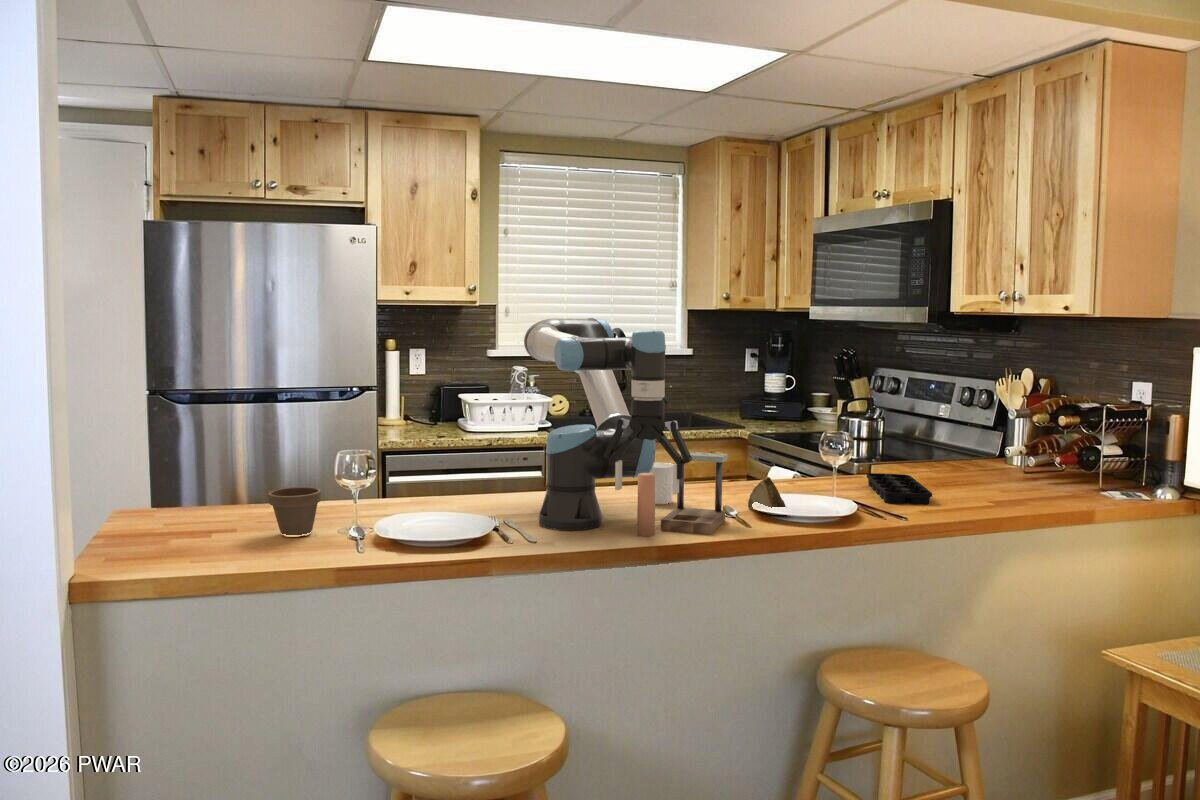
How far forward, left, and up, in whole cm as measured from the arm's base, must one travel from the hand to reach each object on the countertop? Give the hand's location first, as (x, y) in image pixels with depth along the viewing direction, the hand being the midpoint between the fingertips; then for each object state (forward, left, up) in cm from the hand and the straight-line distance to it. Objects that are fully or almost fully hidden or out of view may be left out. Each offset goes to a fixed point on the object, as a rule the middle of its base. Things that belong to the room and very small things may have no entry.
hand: (646, 491), depth 227 cm
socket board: (+8, +13, -10) cm, 18 cm away
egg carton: (+52, +71, -11) cm, 89 cm away
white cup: (-7, +36, -10) cm, 38 cm away
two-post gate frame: (+8, +19, -8) cm, 22 cm away
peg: (0, 0, -10) cm, 10 cm away
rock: (+22, +34, -10) cm, 42 cm away
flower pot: (-74, -29, -10) cm, 80 cm away
